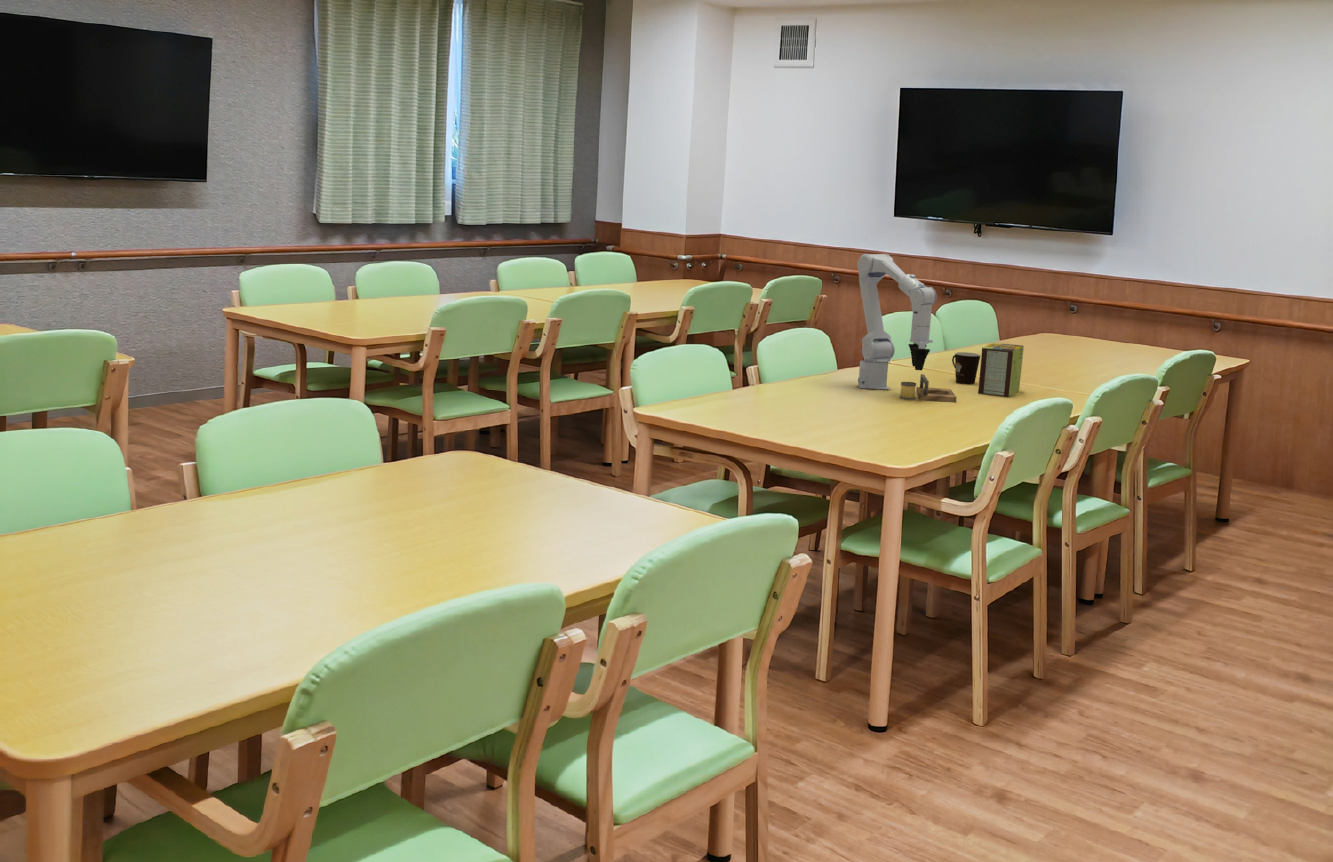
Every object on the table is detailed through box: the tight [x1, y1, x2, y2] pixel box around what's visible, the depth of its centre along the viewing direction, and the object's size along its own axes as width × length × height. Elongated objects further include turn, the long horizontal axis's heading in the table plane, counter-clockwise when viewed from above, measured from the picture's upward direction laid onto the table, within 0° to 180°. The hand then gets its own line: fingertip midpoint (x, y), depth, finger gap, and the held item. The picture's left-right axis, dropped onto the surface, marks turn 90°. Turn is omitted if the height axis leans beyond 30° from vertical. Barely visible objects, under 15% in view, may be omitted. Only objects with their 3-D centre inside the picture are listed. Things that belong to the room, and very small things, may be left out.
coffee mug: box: [951, 351, 982, 385], centre depth 418 cm, size 12×9×10 cm
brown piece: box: [915, 373, 958, 403], centre depth 387 cm, size 11×15×6 cm
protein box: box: [977, 342, 1025, 398], centre depth 400 cm, size 10×15×16 cm
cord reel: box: [899, 381, 917, 401], centre depth 383 cm, size 5×5×5 cm
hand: (917, 368), depth 383 cm, fingers open, 7 cm apart
